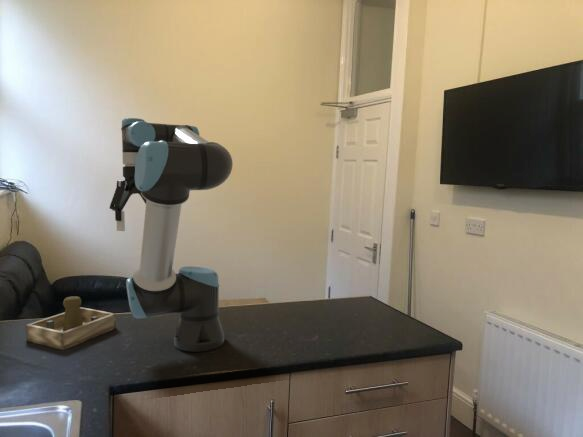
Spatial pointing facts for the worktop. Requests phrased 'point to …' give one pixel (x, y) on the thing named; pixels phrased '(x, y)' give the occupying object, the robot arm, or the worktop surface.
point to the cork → (72, 312)
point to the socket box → (70, 329)
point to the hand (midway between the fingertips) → (135, 228)
